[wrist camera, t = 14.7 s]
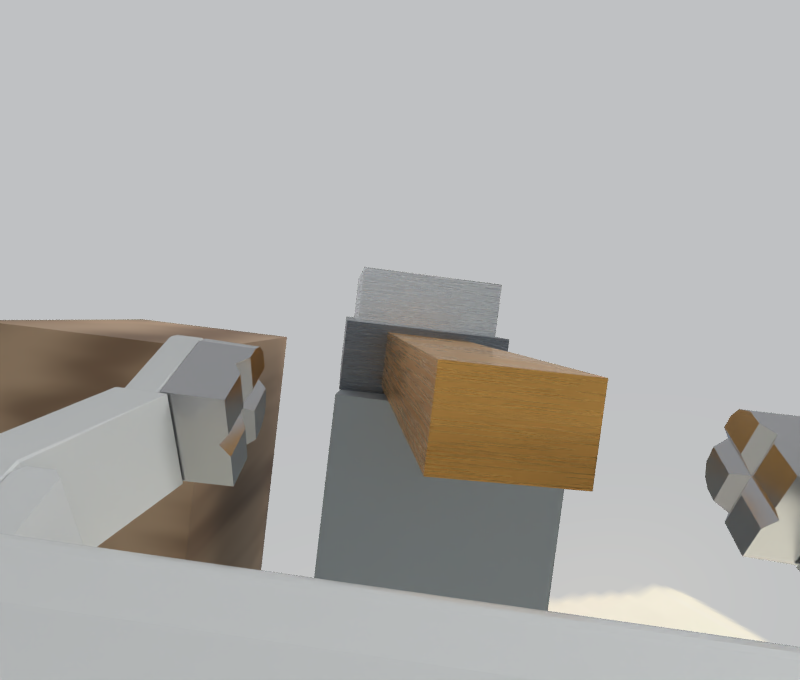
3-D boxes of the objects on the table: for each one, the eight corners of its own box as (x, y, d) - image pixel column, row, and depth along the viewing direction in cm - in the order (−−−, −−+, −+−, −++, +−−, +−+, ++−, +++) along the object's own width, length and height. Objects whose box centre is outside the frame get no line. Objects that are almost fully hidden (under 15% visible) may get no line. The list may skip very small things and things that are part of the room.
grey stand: (458, 808, 30) (514, 383, 29) (481, 1093, 19) (573, 424, 18) (316, 788, 30) (366, 365, 29) (259, 1057, 19) (335, 394, 18)
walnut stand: (238, 776, 30) (286, 337, 29) (135, 1037, 19) (207, 348, 18) (99, 756, 31) (142, 319, 29) (-80, 1002, 20) (-22, 320, 18)
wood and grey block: (452, 376, 29) (463, 293, 29) (670, 511, 10) (707, 259, 9) (341, 363, 28) (351, 278, 28) (333, 483, 9) (364, 211, 9)
